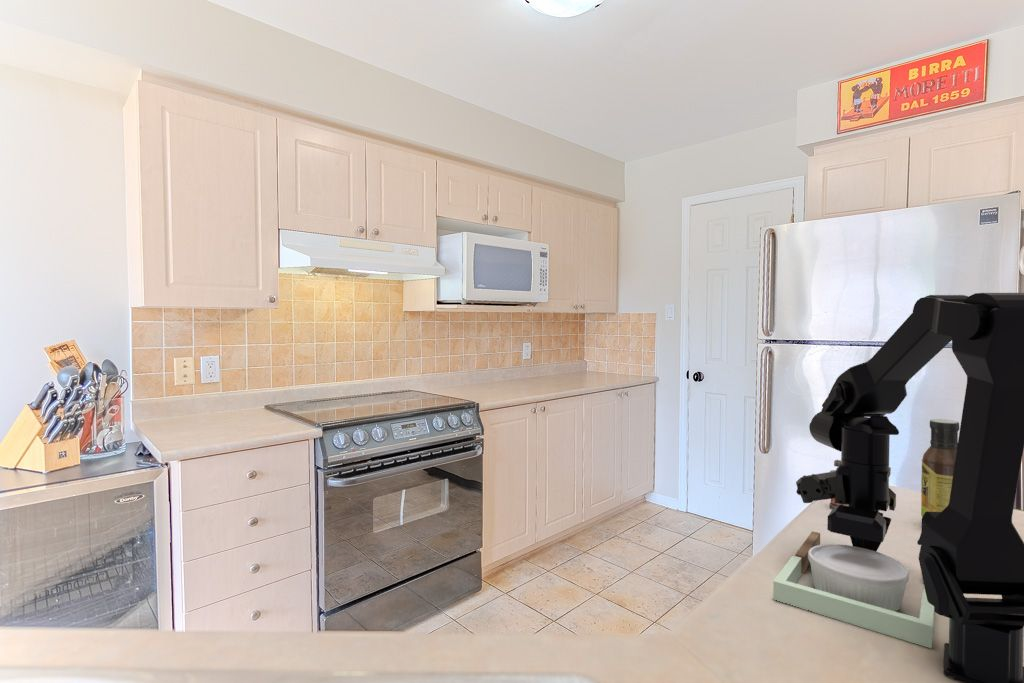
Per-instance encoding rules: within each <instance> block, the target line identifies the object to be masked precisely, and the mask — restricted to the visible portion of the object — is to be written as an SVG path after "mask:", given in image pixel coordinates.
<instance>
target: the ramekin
mask: <svg viewBox="0 0 1024 683" xmlns="http://www.w3.org/2000/svg"><path fill="white" fill-rule="evenodd" d="M808 559H809V561H810V571H811V575H812V582H813V587H814V589H817V590H821V591H824V592H828V593H831V594H835V595H838V596H842V597H845V598H849V599H852V600H856V601H859V602H863V603H867V604H870V605H874V606H877V607H881V608H884V609H888V610H891V611H895V612H898V611H899V610H900V609H901V607H902V604H903V599H904V596H905V591H906V586H907V584H908V582H909V579H910V572H909V570H908V568H907V566H905V565H904V564H903V563H902V562H900V561H899V560H897V559H895V558H893V557H891V556H889V555H886V554H883V553H881V552H878V551H873V550H869V549H865V548H860V547H855V546H853V545H847V544H836V543H831V544H830V543H829V544H827V543H826V544H820V545H818V546H814V547H812V548H811V549H810V550H809V551H808Z"/></svg>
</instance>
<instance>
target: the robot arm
mask: <svg viewBox="0 0 1024 683" xmlns="http://www.w3.org/2000/svg"><path fill="white" fill-rule="evenodd" d="M950 343H951V351H952V353H953V355H954V356H955V358H956V360H957V361H958V363H959V365H960V367H961V368H962V370H963V372H964V373H965V375H966V387H965V392H964V399H963V408H962V413H961V418H960V419H961V421H960V425H959V431H958V446H957V453H956V459H955V466H954V473H953V480H952V487H951V493H950V500H949V504H948V506H947V507H946V508H945V509H944V510H943V511H942V512H928V511H927V512H925V514H924V515H923V517H922V516H921V517H922V518H921V529H920V536H919V539H918V540H917V542H916V543H917V545H918V546H920V549H919V553H918V562H919V566H920V571H921V576H922V577H921V578H922V583H923V582H924V583H923V587H924V589H925V592H926V596H927V600H928V602H929V603H930V604H931V605H933V606H934V611H935V613H936V614H937V615H939V616H942V617H946V618H948V619H949V620H948V621H949V622H948V625H949V626H948V627H949V628H948V629H949V630H948V642H947V643H946V642H945V643H944V644H943V671H942V672H943V674H944V675H945V676H948V677H950V678H953V679H956V680H959V681H963V682H965V683H1024V540H1023V538H1022V537H1021V535H1020V533H1019V532H1018V530H1017V528H1016V527H1015V525H1014V523H1013V514H1014V509H1015V507H1014V506H1015V502H1016V496H1017V490H1018V483H1019V479H1020V474H1021V473H1020V472H1021V467H1022V461H1023V455H1024V292H979V293H977V292H976V293H973V294H971V295H969V296H968V295H964V294H929V295H926V296H924V297H920V298H919V299H917V300H916V301H915V303H914V306H913V308H912V313H910V314H909V316H908V317H907V318H906V319H905V320H904V321H903V322H902V324H901V325H900V326H899V328H897V329H896V330H895V331H894V333H893V334H892V335H891V336H889V338H888V339H887V341H885V343H883V345H882V346H881V347H880V348H879V349H878V350H877V351H876V353H875V354H873V356H872V357H871V358H870V359H868V360H867V361H865V362H862V363H858V364H857V365H853V366H850V367H849V368H847V369H846V370H845V371H843V372H842V373H841V374H840V375H839V376H837V378H836V380H835V381H834V383H833V384H832V387H831V389H830V392H829V393H828V396H827V397H826V398H825V400H823V403H822V404H821V406H822V407H821V411H819V412H817V413H816V414H815V415H814V416H813V417H812V419H811V421H810V423H809V426H808V428H809V433H810V436H811V437H812V438H813V439H814V440H815V441H816V442H817V443H820V444H822V445H824V446H827V447H829V448H831V449H833V450H836V451H838V452H841V455H840V457H841V458H840V460H841V464H840V466H839V467H837V468H836V469H835V470H836V472H830V471H829V472H828V471H827V472H822V473H816V474H814V473H812V474H810V475H802V476H801V477H800V478H798V479H797V480H796V482H795V485H796V494H797V495H798V496H800V497H801V500H802V502H803V504H811V503H813V502H816V501H824V500H831V499H832V498H835V503H839V504H848V506H843V505H839V506H837V507H836V508H834V509H833V510H832V509H831V511H830V512H829V514H828V515H827V531H829V532H831V533H834V534H838V535H843V536H848V537H850V541H851V544H852V545H851V546H855V547H860V548H865V549H869V550H873V551H876V552H878V550H879V548H880V545H881V544H882V543H883V542H884V540H885V537H886V535H887V532H888V531H889V527H890V524H891V522H892V518H890V517H887V516H884V513H882V511H883V512H888V511H887V510H888V509H889V511H895V510H896V506H897V494H896V493H895V491H893V490H892V489H891V488H890V487H889V486H890V484H889V482H890V476H891V471H892V470H891V467H890V438H891V437H890V436H896V435H897V436H898V435H899V433H900V431H899V429H898V428H897V426H896V425H895V424H894V423H892V422H891V421H890V420H889V418H888V416H886V415H887V414H888V415H890V414H891V415H892V414H893V413H894V412H896V411H897V409H898V408H899V407H900V405H901V404H902V403H903V401H904V400H905V398H906V397H907V396H908V392H907V387H906V385H907V384H908V382H909V381H910V380H911V379H912V378H913V377H914V376H915V375H916V374H917V373H919V371H921V370H922V369H923V368H924V367H925V366H926V365H927V364H928V363H929V362H931V360H932V359H933V358H935V356H937V355H938V354H939V353H940V352H941V351H942V350H943V349H945V347H946V346H947V345H949V344H950ZM965 595H987V596H988V595H990V596H991V595H992V596H1001V598H994V597H990V598H989V597H986V598H984V597H966V596H965Z"/></svg>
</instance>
